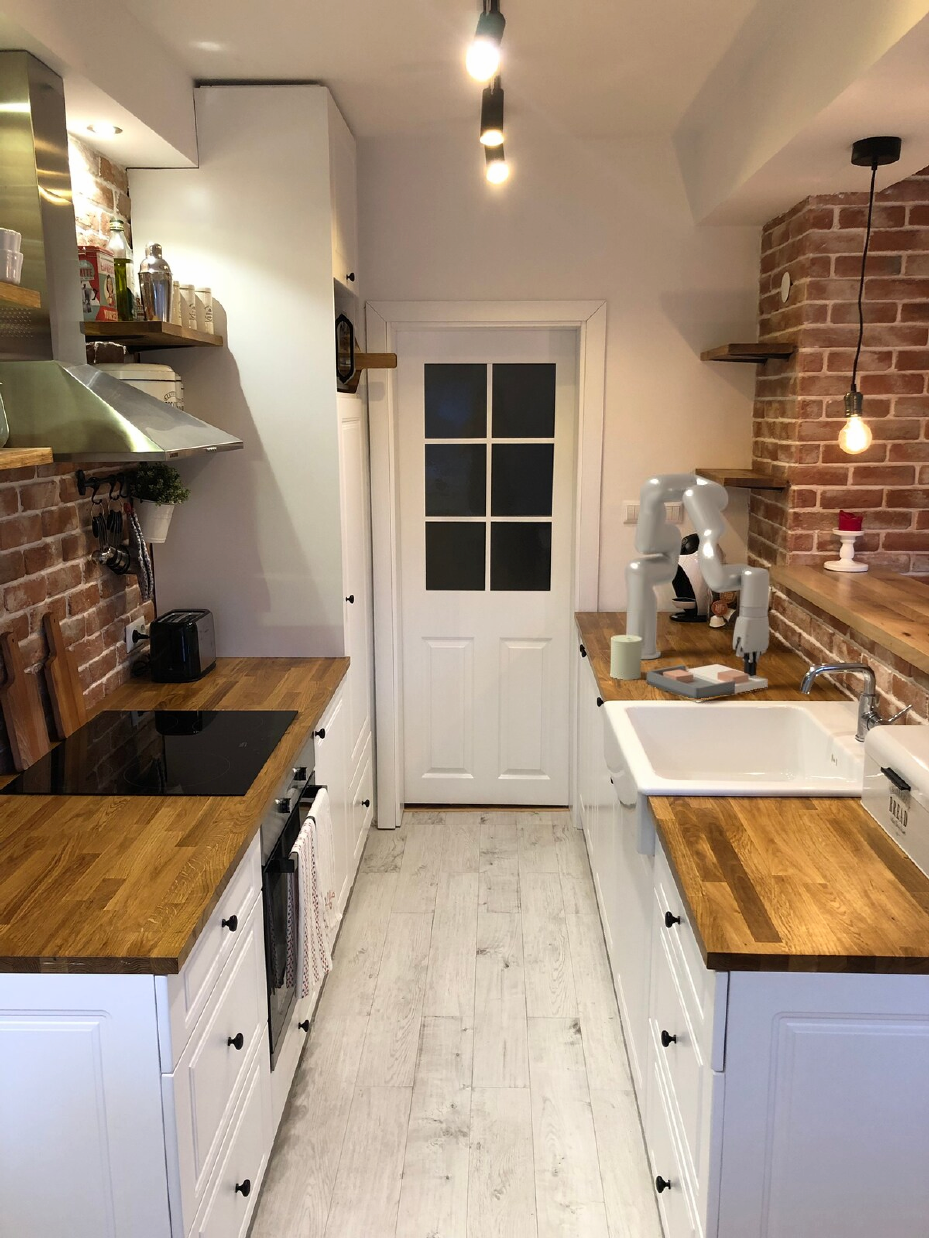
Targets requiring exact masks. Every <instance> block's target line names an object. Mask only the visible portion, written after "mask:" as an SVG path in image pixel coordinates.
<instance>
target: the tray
mask: <svg viewBox="0 0 929 1238" xmlns="http://www.w3.org/2000/svg"><path fill="white" fill-rule="evenodd" d="M686 668H687V666H686V664H681V665H680V664H679V665H675V666H669V667H664V668H663V667H662V668H659V669H653V670H647V671H646V683H645V684H648V685H651V686H653V687H652V688H654V687H656V688H655V689H657V688H660V689H662V690H664V691H663V692H665V691H669V692H672V693H675V694H677V695H682V696H684V697H688V698H694V699H701V698H709V697H715V696H720V695H732V694H735V681H728V682H723V683H717V684H715V683H712V682H709V681H706V680H703V679H700V678H697V677H694V676H693V681H690V682H684V683H683V682H680V681H677V680H674V679H671V678H668V677H665V676H663V672H667V671H673V670H683V671H686V670H687V669H686ZM648 685H647V686H648ZM651 686H650V687H651ZM662 690H661V691H662ZM735 695H736V694H735ZM732 696H733V695H732Z"/></svg>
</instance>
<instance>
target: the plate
mask: <svg viewBox="0 0 929 1238" xmlns="http://www.w3.org/2000/svg"><path fill="white" fill-rule="evenodd" d="M728 670H736V671H739V672H743V673H744V671H741V670H739V669H734V668H733V667H732V668H731V667H729V666H725V665H721V664H718V663H715V664H711V665H705V666H704V665H703V666H698V667H694V668H688V669H686V672H688V673H691V674H693V676H694V677H697V678H700V679H703V680H706V681H709V682H712V683H715V684H717V683H723V682H724V681H721V680H718V679H717V677H718V672H723V671H728ZM768 683H769V679H767V678H764V677H761V676H757V675H755V676H749V681H747V682H742V683H737V684H735V693H738V692H742V691H750V690H753V689H757V688H764V687H767V688H768ZM750 692H751V691H750Z"/></svg>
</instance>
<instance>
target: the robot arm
mask: <svg viewBox="0 0 929 1238" xmlns="http://www.w3.org/2000/svg"><path fill="white" fill-rule="evenodd" d="M728 494H729V493H728V491H727V490H726V489H725V487H724V486H723V485H721V484H720V483H718V482H716V481H713V480H711V479H708V478H705V477H703V476H700V475H698V474H694V473H686V472H685V473H669V474H668V473H667V474H666V473H665V474H659V475H655V476H652V477H649V478H647V479H646V480H645V481H644V482H643V484H642V486H641V488H640V492H639V510H638V516H637V523H636V530H635V534H634V535H635V536H634V547H635V550H636V552H637V553H638V554H641V555H648V556H644V557H638V558H634V559H632V560H631V561H629V562H628V563H627V564H626V566H625V569H624V581H625V585H626V629H625V630H626V632H625V633H626V634H625V635H633V636H638V637H641V638H642V647H641V660H653V659H657V658H660V657H661V653H662V652H661V651H660V650H659V649H657V625H658V599H657V595H656V593H655V591H654V587H657V586H663V585H668V584H670V583H672V582H673V580H674V579H675V577H676V575H677V572H678V567H679V562H680V561H679V560H680V555H681V549H682V542H683V541H682V540H683V539H682V538H683V537H682V533H681V531H680V529H679V527H678V526H677V525H675V524H674V523H672V522H666V521H667V517H668V516H667V508H666V505H665V504H666V503H667V504H668V503H678V502H679V503H680V502H682V503H683V505H684V508H685V511H686V513H687V514H688V516H689V519H690V521H691V524H692V526H693V528H694V530H695V532H696V534H697V537H698V539H699V544H698V547H697V565H698V569H699V570H700V573H701V574H702V578H703V579H704V581H705V583H706V584H707V586H708V588H710V589H711V590H712V591H713V592H715V593H728V592H733V591H740V597H739V598H740V599H739V614H738V615H739V616H737V617H736V620H735V624H734V628H733V629H734V630H733V639H732V649H733V650H734V651H736V652H735V656H736V657H738V658H741V659H742V661H743V662H744V663H743V664H744V665H743V666H744V667H743V672H744V673H746V674H749V676H757V670H758V668H757V667H758V662H759V660H760V657H761V656H762V655H763V654H765V653H766V652H767V649H768V647H769V645H770V643H769V642H770V624H769V623H770V622H769V616H768V610H769V605H768V604H769V594H770V593H769V592H770V591H769V590H770V572H769V570H768V569H766V568H762V567H753V566H750V565H749V564H745V563H733V564H732V563H731V564H726V565H725V564H724V565H722V563H721V561H720V559H719V556H718V553H717V543H718V541H719V540H720V539H722V537H723V536H724V535H726V533H727V531H728V525H727V523H726V521H725V519H724V516H723V515H722V513H721V511H723V510H725V509H726V507H727V506H728V503H729V495H728ZM649 555H653V556H649Z"/></svg>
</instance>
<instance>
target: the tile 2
mask: <svg viewBox="0 0 929 1238" xmlns="http://www.w3.org/2000/svg"><path fill="white" fill-rule="evenodd" d="M736 670H737V669H735V670H728V671H723V672H718V677H717V679H718V680H721V681H724V682H728V681H735V684H737V683H742V682H747V681H749V674H746V673H743V672H744V671H742V672H739V671H740V670H738V671H736Z"/></svg>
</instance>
